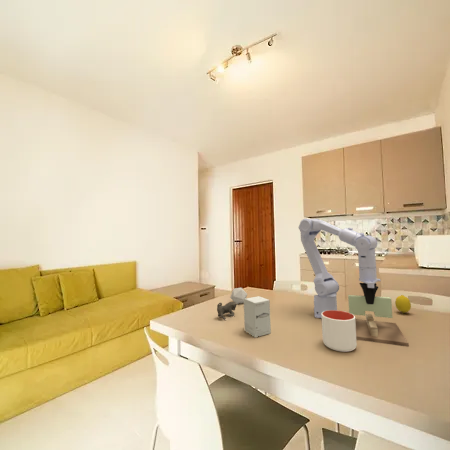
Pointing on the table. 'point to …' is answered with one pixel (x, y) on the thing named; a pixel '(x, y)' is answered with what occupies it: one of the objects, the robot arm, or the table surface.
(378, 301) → the slotted plate
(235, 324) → the table surface
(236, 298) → the die
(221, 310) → the dog figurine
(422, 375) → the table surface
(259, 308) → the supplement box
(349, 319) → the cup
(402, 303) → the lemon
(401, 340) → the base
